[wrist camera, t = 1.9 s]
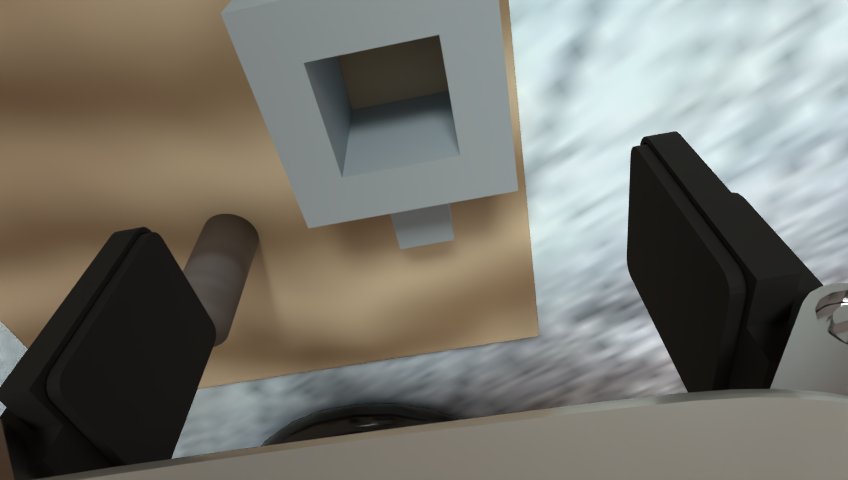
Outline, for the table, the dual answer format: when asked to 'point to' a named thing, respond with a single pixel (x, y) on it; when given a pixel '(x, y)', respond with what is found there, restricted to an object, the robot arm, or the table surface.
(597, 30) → the table surface
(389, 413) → the black orange vase
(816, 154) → the table surface
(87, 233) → the post base
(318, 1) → the grey square hole block
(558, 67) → the table surface
